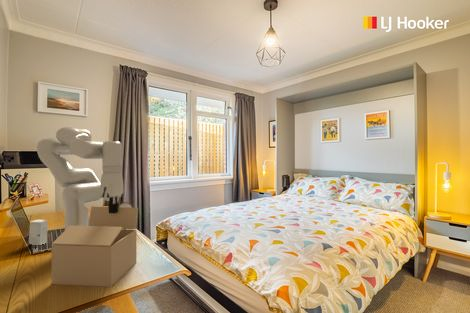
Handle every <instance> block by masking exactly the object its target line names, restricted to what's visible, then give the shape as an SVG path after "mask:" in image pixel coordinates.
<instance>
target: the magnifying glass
mask: <svg viewBox="0 0 470 313" xmlns="http://www.w3.org/2000/svg"><path fill="white" fill-rule="evenodd" d="M118 207H129V208H134V207H133V205H132V204H131V203H130V202H128V201H127V202H126V201H125V202H124V201H123V202H121V203H120V204H118ZM125 230H127V229H125Z"/></svg>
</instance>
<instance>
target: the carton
mask: <svg viewBox="0 0 470 313" xmlns="http://www.w3.org/2000/svg"><path fill="white" fill-rule="evenodd" d="M136 264H137V229H126V230H125V229H122V230H121V231H120V233H119V234H118V236H117V237H116V238H115V240H114V241H113V243H112V244H111V246H87V245H57V244H51V285H61V286H62V285H65V286H85V287H86V286H87V287H89V286H90V287H109V288H111V287H113V286H114V285H115V284H116V283H117V282H118V281H119V280H120V279H122V277H123V276H124V275H125V274H126V273H128V271H129V270H130V269H131V268H132V267H133V266H134V265H136Z"/></svg>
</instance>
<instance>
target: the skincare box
mask: <svg viewBox="0 0 470 313" xmlns="http://www.w3.org/2000/svg"><path fill="white" fill-rule="evenodd" d="M48 222H49V221H48V220H47V219H34V220H31V221H29V230H28V231H29V232H28V233H29V234H28V236H29V237H28V245H29V244H33V245H42V244H44V245H46V244H48ZM45 243H46V244H45ZM42 246H43V245H42Z"/></svg>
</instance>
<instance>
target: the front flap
mask: <svg viewBox="0 0 470 313" xmlns="http://www.w3.org/2000/svg"><path fill="white" fill-rule="evenodd" d="M122 228H123V227H108V226H73V225H70V226H69V227H68V228H67V229H66V230H65V229H64V231H63V232H62V233H61V234H59V236H58V237H57V238H56V239H55V240H54V241H53V242H52V244H57V245H87V246H111V244H112V243H113V241H114V240H115V238H116V237H117V236H118V234H119V233H120V231H121V230H122ZM52 244H51V245H52Z"/></svg>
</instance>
